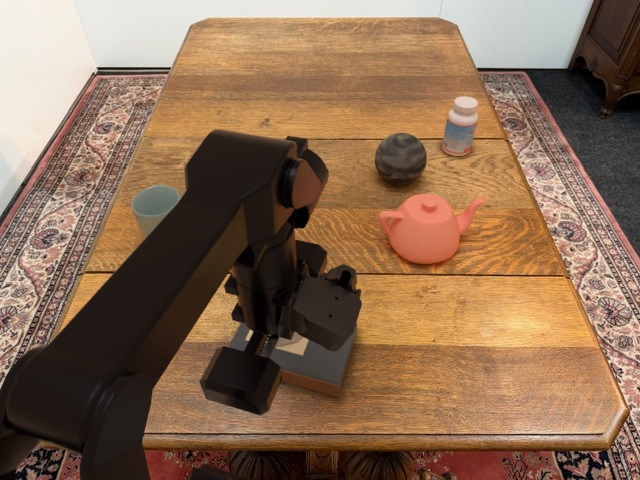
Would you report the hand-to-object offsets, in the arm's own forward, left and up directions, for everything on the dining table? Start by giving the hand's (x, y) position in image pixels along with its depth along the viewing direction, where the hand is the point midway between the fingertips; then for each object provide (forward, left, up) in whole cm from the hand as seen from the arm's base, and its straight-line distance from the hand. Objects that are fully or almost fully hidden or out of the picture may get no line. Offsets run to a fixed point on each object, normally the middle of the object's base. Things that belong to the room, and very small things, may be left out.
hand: (277, 359), depth 52 cm
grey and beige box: (+9, +2, -13) cm, 16 cm away
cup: (+23, +30, -13) cm, 40 cm away
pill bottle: (+66, -15, -13) cm, 69 cm away
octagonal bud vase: (+11, +4, -10) cm, 15 cm away
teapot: (+36, -13, -13) cm, 40 cm away
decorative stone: (+52, -5, -13) cm, 54 cm away
